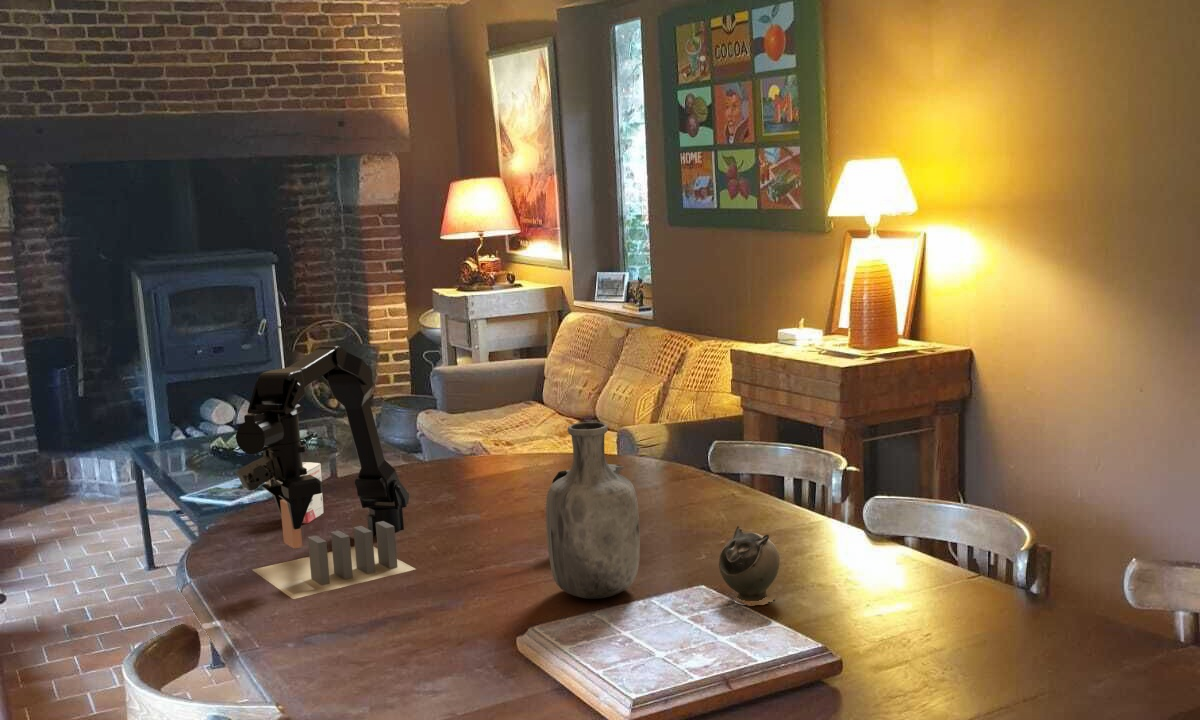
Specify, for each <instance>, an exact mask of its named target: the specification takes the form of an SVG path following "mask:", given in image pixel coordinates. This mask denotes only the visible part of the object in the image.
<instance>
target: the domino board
mask: <svg viewBox="0 0 1200 720" xmlns="http://www.w3.org/2000/svg"><path fill="white" fill-rule="evenodd" d="M350 548H351V560H352V572H353V578H351V579H347V580H344V579H342V578H341V577H339V576H338V575H336V574H334V564H333V552H332V551H329V552H328V551H327V555H328V567H329V578H330V584H326V585H320V584H318V583H317V582H315V581H314V580H312V579H311V569H310V557H309V556H306V557H302V558H298V559H294V560H289V561H284V562H280V563H275V564H271V565H266V566H263V567H262V566H261V567H258V568H253V569H251V571H252V572H253V573H255V574H257V575H258V576H259V577H261V578H263V579H264V580H265V581H267V582H268V583H270V584H271V585H272V586H273V587H275V588H276V589H278V590H279V591H281V592H282V593H283V594H285V595H286V596H288V597H289V598H291V599H292V600H296V599H300V598H305V597H309V596H312V595H313V596H314V595H317V594H321V593H326V592H329V591H334V590H338V589H341V588H344V587H349V586H350V587H351V586H353V585H357V584H362V583H367V582H370V581H374V580H378V579H382V578H386V577H391V576H395V575H401V574H403V573H408V572H411V571H415V570H417V568H415V567H413V566H411V565H410V564H408V563H405V562H404V561H402V560H400V559H398V558H397V566H398V567H397V568H393V569H388V568H387V567H385V566H383V565H381V564H379V561H378V548H377V547H375V546H374V545H373V548H374V560H375V572H376V573H372V574H368V575H367V574H366V573H364V572H362V571H361V570H359V569H357V565H356V553H355V546H350Z"/></svg>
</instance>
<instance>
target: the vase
mask: <svg viewBox="0 0 1200 720" xmlns="http://www.w3.org/2000/svg"><path fill="white" fill-rule="evenodd" d="M608 429H609V428H608V424H606V423H604V422H601V421H600V422H597V421H587V422H585V421H584V422H577V423H573V424H570V425H568V426H567V432H568V433H567V434H568V435H570V436H571V443H572V457H573V459H572V464H571V467H570V468H569V469H568V470H569V472H568V473H567V474H566V476H564V477H562V478H560V479H558V480H557V481H555V482H554V483H553V484H552V483H551V485H550V487H549V488H548V490H547V494H546V501H545V519H546V521H545V524H546V539H547V551H548V558H549V565H550V571H551V574H552V578H553V580H554V582H555V584H556V585H557V586H558V587H559V589H560V590H563V592H565V593H567V594H569V595H571V596H573V597H576V598H582V599H589V600H590V599H591V600H595V599H605V598H610V597H613V596H615V595H618V594H620V593H622V592H624V591H626V590H627V589H628V588H629V587H630V586H631V585H632V584H633V583H634V582H635V580H636V578H637V576H638V572H639V566H640V565H639V564H640V544H641V543H640V517H639V506H638V505H639V504H638V499H637V493H636V490H635V487H634V485H633V483H632V481H630V479H628V478H627V477H626V476H623V475H621V474H620V473H619V474H616V473H614V472H613V471H612V470H611V469H610V467H609V466H608V464H609V463H608V462H607V460H606V459H607V458H606V454H605V434H606V433H607V432H608Z"/></svg>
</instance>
